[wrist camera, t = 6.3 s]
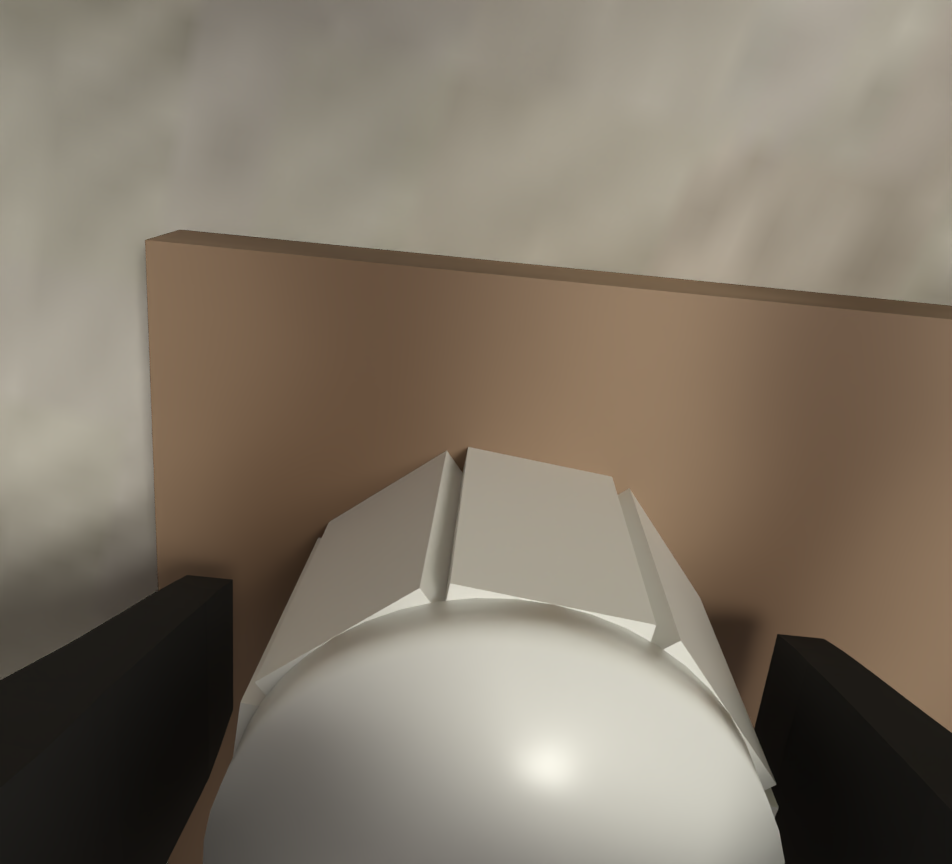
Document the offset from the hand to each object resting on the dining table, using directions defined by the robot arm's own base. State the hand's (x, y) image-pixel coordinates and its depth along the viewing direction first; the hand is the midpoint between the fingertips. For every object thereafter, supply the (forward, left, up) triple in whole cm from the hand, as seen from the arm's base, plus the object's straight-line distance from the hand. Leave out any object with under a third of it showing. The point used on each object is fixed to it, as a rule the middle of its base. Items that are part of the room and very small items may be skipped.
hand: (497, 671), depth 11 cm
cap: (0, 0, -1) cm, 1 cm away
